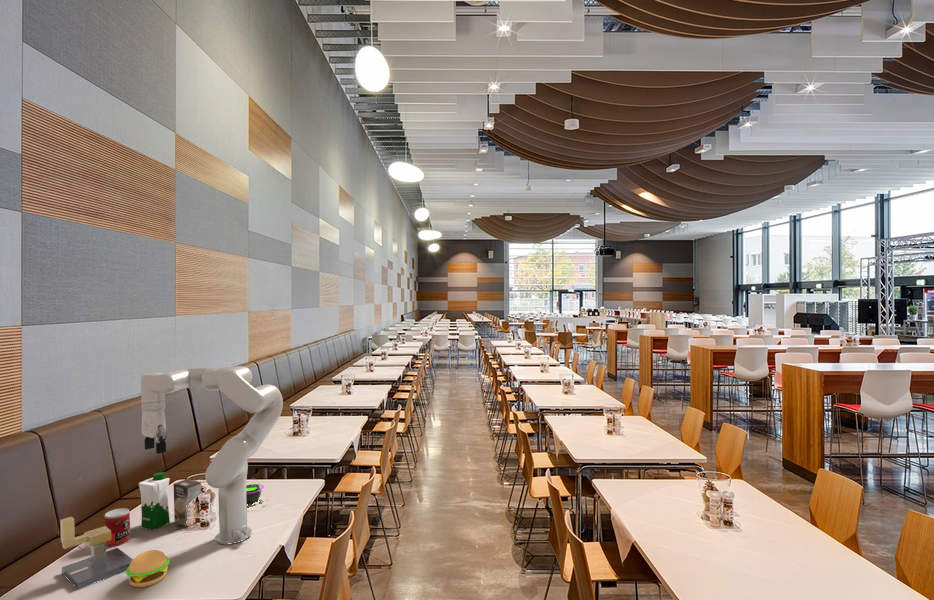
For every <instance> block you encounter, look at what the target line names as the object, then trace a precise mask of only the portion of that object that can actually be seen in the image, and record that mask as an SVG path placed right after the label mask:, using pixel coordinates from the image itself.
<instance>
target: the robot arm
mask: <svg viewBox="0 0 934 600" xmlns="http://www.w3.org/2000/svg"><path fill="white" fill-rule="evenodd" d="M252 381H253V373H252V371H251V369H249V367H246V366H240V365H238V366H236V365H235V366H224V367H223V366H220V367H197V368H184V369H183V368H182V369H177V370H173V371H170V372H165V373H163V372H160V371H155V372H154V371H152V372H148V373H144V374H141V376H140V394H141V395H140V397H141V411H142V413H141V435H143V438H144V440H143V441H144V450H151V449H154V448H155V452H156V453H155V454H157V455H159V454H162V453H163V454H164V453H166V452H167V432H168V431H167V425H166V424H167V423H166V415H165V414H166V413H165V409H166V394H173V393H174V392H177V391H180V390H183V389H190V388H191V389H192V388H204V389H205V390H206V391H208V392H210V391H211V392H213V391H214V392H215V391H221V392H222V393H223V394H224V395H225V396H226V397H227V398H229V399H230V400H231V401H232V402H234V403H235V404H236V405H237V406H238V407H240V408H241V409H242V410H244V411H246V412H248V413H250V414H253V415H252V417H251V418H250V419H249V421H248V422H247V424H246V425H245V426H244V427H243V429H242V430H241V432H239V433H237V434H236V435H234V436H233V437H230V438H229V439H228V440H227V441H226V442H225V443H224V444H223V445H222V446H221V448H220V449H219V451H218V452H217V454H216V455H215V456H214V458H213V459H212V461H211V462H209V465H208V467H207V468H206V471H205V476H204V477H205V481H206V483H207V485H208V486H210V487H211V488H214V489H218V495H217V496H218V499H217V500H218V521H219V523H218V526H219V528H218V529H219V530H218V531H219V532H218V533H217V534H216V535H215V537H214V542H215V541H216V542H217V543H216V542H215V543H216V544H218V543H221V544H228V543H234V542H238V541H241V540H244V539H246V538H247V539H249V538H250V537H251V536H252V534H251V533H253V531H252V528H251V527H248V512H247V502H246V485H247V482H246V481H247V480H246V479H248V477H247V475H248V468H249V465H248V464H249V463H248V459H249V458H251V457H252V456H254V455H255V454H256V453H257V452H258V450H259V449H260V447H261V446H262V444H263V443H264V441H265V439H266V438H267V437H268V436H269V434H270V432H271V431H272V429H273V428H274V426H275V425H276V423H277V422H278V420H279V419H280V416H281V415H282V412H283V407H284V399H283V395H282V393H281V390H279V388H278V387H277V386H275V385H273V384H268V383H267V384H262V385H259V386H257V387H254V386H253V385H251V382H252ZM155 440H156V443H155ZM250 535H251V536H250ZM249 536H250V537H249ZM248 537H249V538H248ZM247 539H246V540H247ZM244 541H245V540H244ZM221 544H220V545H221Z"/></svg>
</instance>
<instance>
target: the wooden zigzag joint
mask: <svg viewBox="0 0 934 600" xmlns="http://www.w3.org/2000/svg"><path fill="white" fill-rule="evenodd" d="M59 523H60V524H59V525H60V542H61V544H62V545H61V546H62V548H63V550H66V549H69V548H73V547H75V546H79V545H82V544H86V545H87V546H88V547H90V548H91V546H94V545H97V544H100V543H103V542H105V543H106V541H109V540H111V530H110V529H108V528H107V527H106V526H105V525H104V526H101V527H97V528H94V529H92V530H88V531H85V532H83V534H81V535H78V536H76V534H75V533H76V531H75V530H76V529H75V518H74V517H73V516H69V517H65V518H63V519H59Z"/></svg>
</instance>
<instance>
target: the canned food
mask: <svg viewBox="0 0 934 600" xmlns="http://www.w3.org/2000/svg"><path fill="white" fill-rule="evenodd" d="M130 513H131V512H130V509H129V508H126V507H125V508H124V507H122V508H115V509H112V510H110V511H107V512H106V513H105V514H104V526H106V527H107V528H108V529H110V530H111V540H109V541H106V542H105V546H107V547H108V546H109V547H116V545H117V546H120V545H124V544H125V542H126V543H128V542H129V541H128V540H131V517H130ZM123 543H124V544H123Z"/></svg>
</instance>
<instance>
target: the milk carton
mask: <svg viewBox="0 0 934 600" xmlns="http://www.w3.org/2000/svg"><path fill="white" fill-rule="evenodd" d="M169 485H170V477H166V473H165V472H164V471H160V472H159V471H158V472H155V473H153V475H152V477H150V478H148V479H145V480H143V481H140V482H138V487H139V491H140V506H141V509H140V510H141V524H140V525H141V526H140V528H141V527H143V528H142V529H145V528H147V529H146V530H150V529H151V530H150V531H155V530H157V529H160V528H161V526H162V527H164V526H166V525H168V524H170V522H171V521H170V518H171V517H170V511H169V510H170V509H169ZM167 523H168V524H167ZM165 524H166V525H165ZM163 525H164V526H163ZM159 527H160V528H159ZM154 529H155V530H154Z"/></svg>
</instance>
